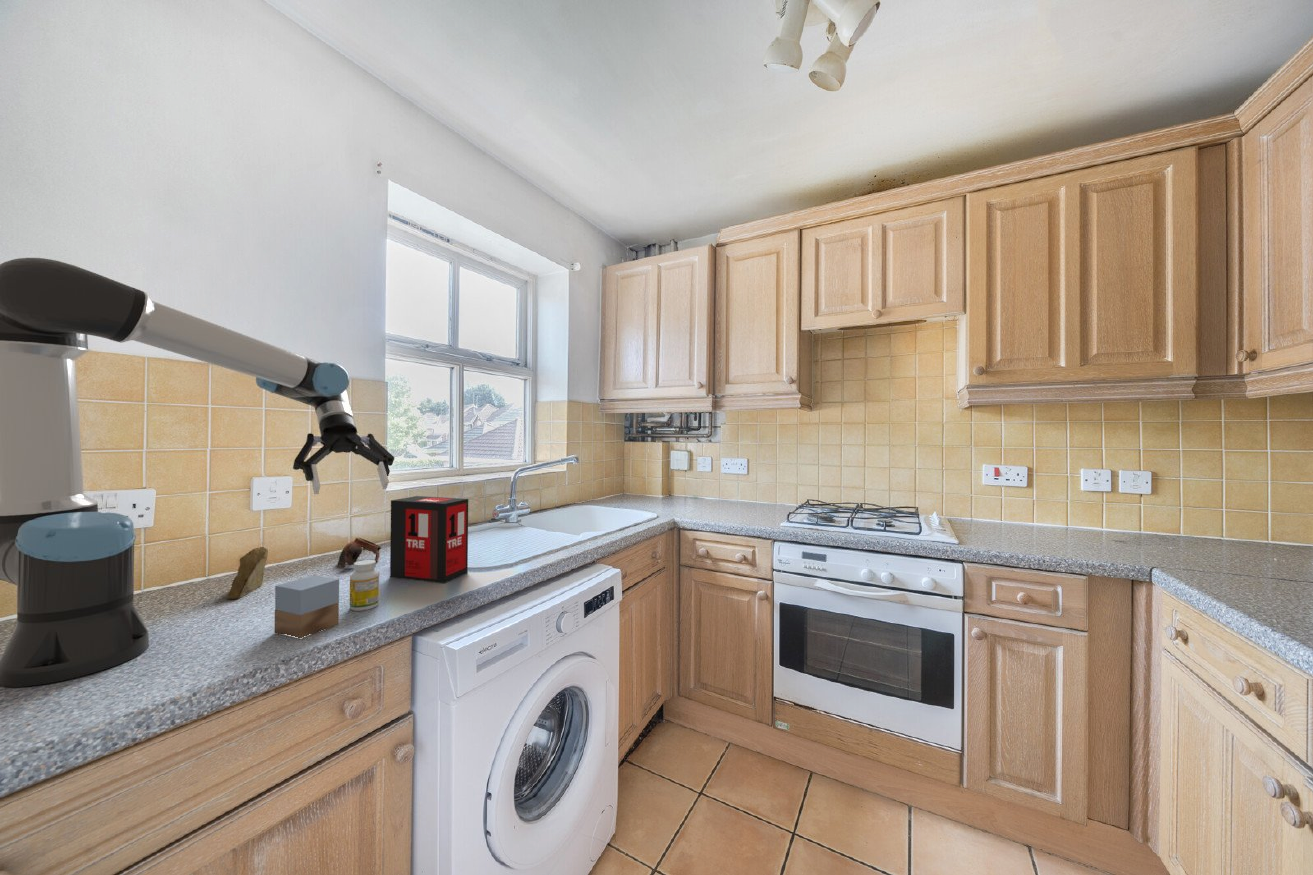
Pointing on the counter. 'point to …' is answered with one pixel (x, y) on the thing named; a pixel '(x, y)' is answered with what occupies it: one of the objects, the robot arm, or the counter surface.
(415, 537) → the cleaning product box
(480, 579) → the counter surface
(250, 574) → the rock
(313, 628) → the walnut block
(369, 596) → the supplement bottle
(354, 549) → the pottery mug
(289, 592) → the slate-blue block
